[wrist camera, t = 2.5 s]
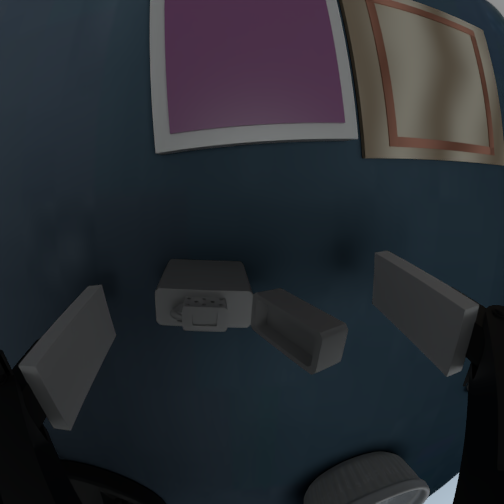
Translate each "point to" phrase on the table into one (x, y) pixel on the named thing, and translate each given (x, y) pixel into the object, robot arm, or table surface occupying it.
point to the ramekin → (368, 482)
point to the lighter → (247, 311)
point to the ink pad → (248, 73)
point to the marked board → (422, 83)
